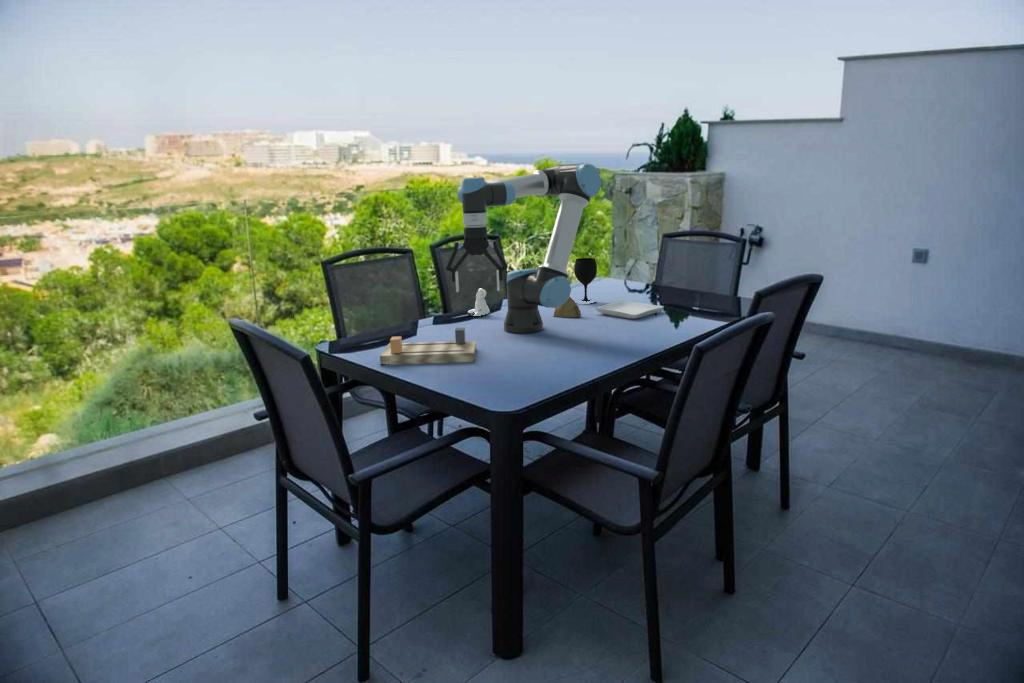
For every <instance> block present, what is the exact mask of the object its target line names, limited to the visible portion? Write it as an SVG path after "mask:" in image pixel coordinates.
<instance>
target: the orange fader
mask: <svg viewBox="0 0 1024 683" xmlns="http://www.w3.org/2000/svg"><path fill="white" fill-rule="evenodd" d="M402 340H403V339H402V336H401V335H400V336H391V338H390V339H389V343H390V345H391V353H401V351H402V343H403V341H402Z"/></svg>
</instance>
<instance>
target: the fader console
mask: <svg viewBox="0 0 1024 683" xmlns="http://www.w3.org/2000/svg"><path fill="white" fill-rule="evenodd" d="M476 352H477V341H476V340H465V343H456V340H455V341H426V342H424V341H423V342H420V341H419V342H402V351H401V353H391V345H390V342H389V343H388V344H387V345H386V347H385V348H384V349H383V351H382V352H381V354H380V355H379V360H380V361H379V362H380V365H381V364H386V365H385V366H387V365H388V364H389V365H391V366H392V365H418V364H419V365H420V364H421V365H423V364H448V363H450V364H451V363H454V364H455V363H474V362H475V358H476ZM389 365H388V366H389Z"/></svg>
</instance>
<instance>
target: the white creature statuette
mask: <svg viewBox="0 0 1024 683" xmlns="http://www.w3.org/2000/svg"><path fill="white" fill-rule="evenodd" d="M486 296H487V291H486V289H484V288H481V287H480V288H478V289H477V292H476V295H475V303H474V308H472V309H470V310H467V314H468V313H473V312H474V313H475V314H474V315H472V316H481V315H485V314H488V313H489V314H490V311H491V310H490V309H489V306H488V305H487V302H486V299H485V298H486ZM489 314H488V315H489Z"/></svg>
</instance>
